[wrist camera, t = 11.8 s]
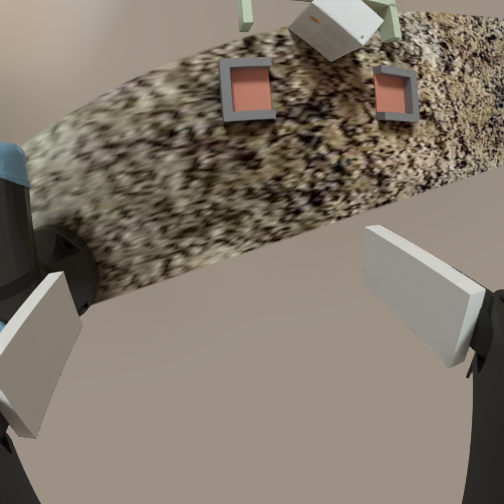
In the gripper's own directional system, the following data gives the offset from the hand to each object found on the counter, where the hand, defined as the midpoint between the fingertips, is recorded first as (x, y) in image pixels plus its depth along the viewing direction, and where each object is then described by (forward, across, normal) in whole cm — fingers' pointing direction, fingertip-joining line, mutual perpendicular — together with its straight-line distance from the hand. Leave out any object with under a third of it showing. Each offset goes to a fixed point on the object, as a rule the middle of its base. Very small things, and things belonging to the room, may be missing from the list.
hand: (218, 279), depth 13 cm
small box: (+31, +18, +20) cm, 42 cm away
